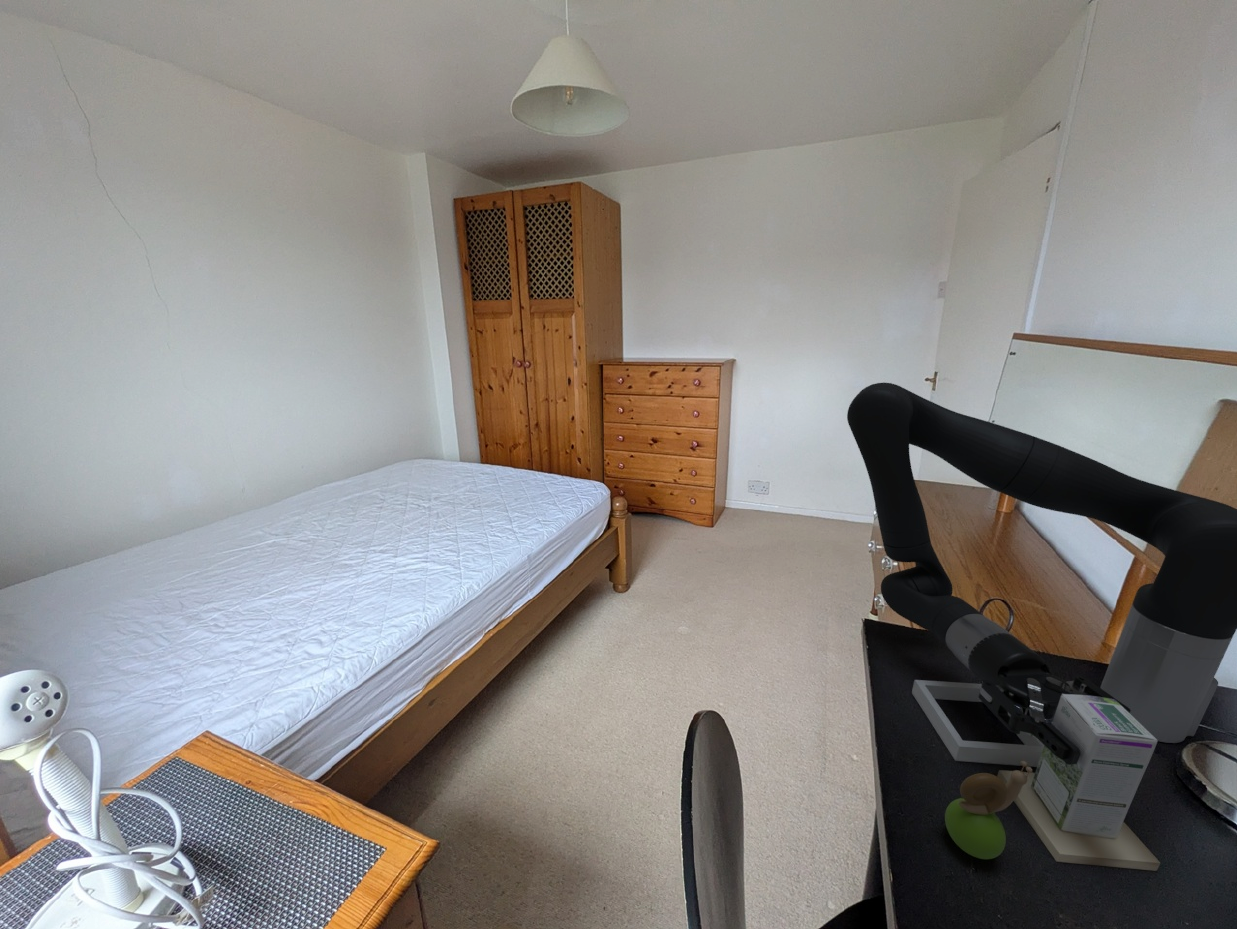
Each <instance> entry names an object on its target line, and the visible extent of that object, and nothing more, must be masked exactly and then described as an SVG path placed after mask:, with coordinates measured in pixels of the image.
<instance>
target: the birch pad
mask: <svg viewBox="0 0 1237 929" xmlns="http://www.w3.org/2000/svg"><path fill="white" fill-rule="evenodd" d="M1013 771H1014V770H1003V769H1001V770H1000V769H999V770H998V772H997V775H996V776H997V777H998V778H1000V779H1001V780H1002V781H1003V783H1004V784H1005V785H1006V784H1007V782H1008V781H1009V780H1010V778H1011V777H1010V775H1011V773H1012V772H1013ZM1022 772H1023V773H1024V774H1025V775H1027V774H1028V772H1026V771H1022ZM1034 775H1035V772H1031V773H1030V772H1029V774H1028V776H1027V783H1026V784H1024V785H1023V786H1022V788H1021V791H1020V793H1019V794H1018V796H1017V797H1016V799H1015V800H1014V801H1013V803H1014V804H1015V805H1016V807H1017V808H1018V809H1019V810H1020V812H1021V813H1022V815H1023V816H1024V818H1025V819H1026V820H1027V822H1028V823H1029V825H1030V826H1031V827H1032V829H1033V830H1034V832H1035V833H1036V835H1037V836H1038V837H1039V839H1040V840H1041V842H1042V843H1043V844H1044V845H1045V847H1046V849H1047V850H1048V852H1049V853H1050V855H1051V856H1052V857H1053V858H1054V860H1055V861H1056V862H1058V863H1066V864H1067V863H1068V864H1079V865H1088V866H1101V867H1111V868H1122V869H1132V870H1133V869H1134V870H1142V871H1143V870H1144V871H1152V872H1153V871H1155V872H1157V871H1158V870H1159V867H1160V865H1161V862H1160V860H1158V858H1157V857H1156V856H1155V855H1154V854H1153V853H1152V852H1151V850H1150V849H1149V848H1148V847H1147V846H1146V845H1145V844H1144V843H1143V842H1142V840H1141V839H1139V837H1138V836H1137V835H1136V834H1135V833H1134V832H1133V831H1132V829H1131V828H1130V827H1129V826H1128V825H1127V824H1126V822H1124V821H1123V824H1122V826H1121V829H1120V831H1119V834H1118V836H1117V838H1116V839H1113V838H1105V837H1098V836H1091V835H1085V834H1078V833H1072V832H1067V831H1063V830H1061V829H1060V828H1059V826H1058V825H1057V823H1056V822H1055V820H1054V819H1053V817H1052V816H1051V814H1050V813H1049V811H1048V810H1047V809H1046V807H1045V806H1044V804H1043V803H1042V801H1041V800H1040V798H1039V797H1038V795H1037V794H1036V792H1035V791H1034V789H1033V788H1032V786H1031V784H1032V781H1033V778H1034Z"/></svg>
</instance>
